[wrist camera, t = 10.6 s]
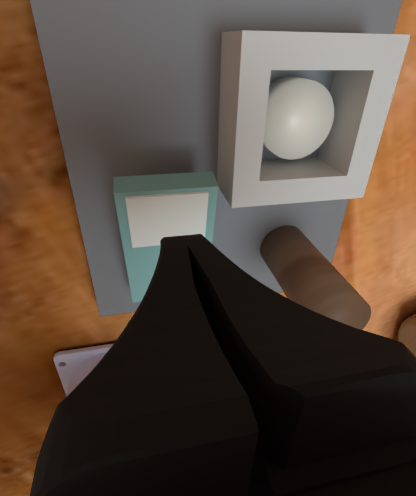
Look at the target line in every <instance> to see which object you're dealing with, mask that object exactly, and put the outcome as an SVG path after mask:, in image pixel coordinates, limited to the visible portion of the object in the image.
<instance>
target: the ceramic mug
mask: <svg viewBox="0 0 416 496" xmlns="http://www.w3.org/2000/svg"><path fill="white" fill-rule="evenodd" d="M398 341H399V342H402V343H403V344H404V345H405V346H406V347H407V348H408V349H409V350H410V351H411V352H412V353H413V354H414V355H415V357H416V314H414V315H412V316H410V317H408V318H406V319H405V320H404V321H403V322H402V324H401V326H400V328H399V332H398Z"/></svg>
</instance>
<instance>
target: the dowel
mask: <svg viewBox="0 0 416 496" xmlns="http://www.w3.org/2000/svg"><path fill="white" fill-rule="evenodd" d="M260 253H261V256H262V258H263V260H264V261H265V263H266V265H267V266H268V268H269V269H270V271H271V272H272V274H273V276H274V277H275V279H276V280H277V282H278V283H279V285H280V287H281V288H282V290H283V291H284V293H285V295H286V296H287V298H288V299H290V300H291V301H293V302H295V303H298V304H300V305H302V306H304V307H306V308H308V309H310V310H312V311H314V312H317V313H319V314H321V315H324V316H326V317H328V318H331V319H333V320H336V321H339V322H341V323H344V324H346V325H349V326H352V327H354V328H357V329H360V330H362V329H363V328H364V327H365V326H366V324H367V323H368V321H369V319H370V315H371V308H370V306H369V304H368V303H367V302H366V301H365V300H364V299H363V298H362V297H361V296H360V295H359V293H358V292H357V291H356V290H355V289H354V288H353V287H352V286H351V285H350V284H349V283H348V282H347V280H346V279H345V278H344V277H343V276H342V275H341V274H340V273H339V272H338V271H337V270H336V269H335V267H334V266H333V265H332V264H331V263H330V262H329V261H328V260H327V259H326V258H325V257H324V256H323V254H322V253H321V252H320V251H319V250H318V249H317V248H316V247H315V246H314V245H313V244H312V243H311V241H310V240H309V239H308V238H307V237H306V236H305V235H304V234H303V233H302V232H301V231H300V230H299V229H298V228H297V227H294V226H290V225H286V226H280V227H278V228H275V229H274V230H272V231H271V232H269V233H268V234H267V235H266V237H265V238H264V239H263V241H262V243H261V247H260Z"/></svg>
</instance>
